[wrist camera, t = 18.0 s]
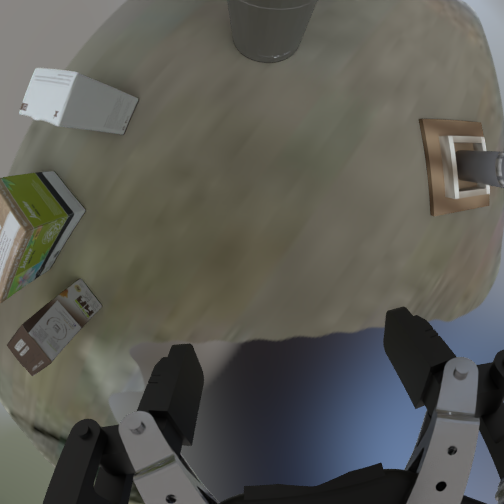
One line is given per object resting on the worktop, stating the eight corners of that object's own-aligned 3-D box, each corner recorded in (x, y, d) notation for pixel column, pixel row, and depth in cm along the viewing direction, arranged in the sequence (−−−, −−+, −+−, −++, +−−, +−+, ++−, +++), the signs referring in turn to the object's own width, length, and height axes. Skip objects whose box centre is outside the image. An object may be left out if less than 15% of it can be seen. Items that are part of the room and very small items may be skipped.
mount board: (418, 119, 31) (431, 116, 28) (477, 123, 30) (490, 121, 27) (430, 215, 36) (443, 219, 32) (485, 204, 35) (498, 208, 31)
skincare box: (140, 98, 31) (83, 68, 17) (123, 137, 33) (58, 127, 18) (97, 88, 30) (35, 63, 16) (82, 124, 32) (15, 114, 17)
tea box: (51, 271, 39) (-2, 307, 24) (22, 232, 36) (-33, 257, 22) (89, 209, 36) (23, 233, 21) (55, 168, 33) (-11, 176, 19)
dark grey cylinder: (450, 151, 31) (503, 152, 20) (468, 149, 31) (520, 152, 20) (454, 182, 33) (507, 192, 21) (472, 179, 33) (523, 188, 21)
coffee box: (80, 276, 39) (21, 322, 23) (103, 306, 40) (53, 362, 25) (57, 300, 40) (5, 345, 25) (77, 326, 42) (32, 378, 26)
